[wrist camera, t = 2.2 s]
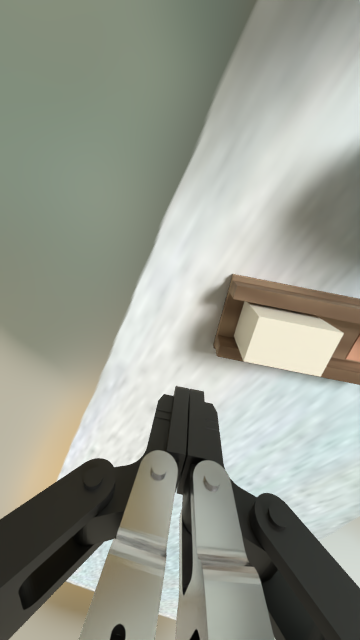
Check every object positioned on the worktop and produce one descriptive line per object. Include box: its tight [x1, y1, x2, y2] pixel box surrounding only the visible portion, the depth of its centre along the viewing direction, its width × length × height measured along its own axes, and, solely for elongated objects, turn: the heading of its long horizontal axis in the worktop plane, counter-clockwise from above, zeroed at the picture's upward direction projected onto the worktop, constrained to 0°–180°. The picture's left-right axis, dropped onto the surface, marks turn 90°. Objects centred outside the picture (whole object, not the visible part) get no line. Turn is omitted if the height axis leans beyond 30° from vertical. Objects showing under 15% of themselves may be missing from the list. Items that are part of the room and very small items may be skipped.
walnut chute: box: [213, 274, 360, 385], centre depth 25 cm, size 10×22×4 cm, turn 80°
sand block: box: [234, 301, 344, 377], centre depth 23 cm, size 5×8×6 cm, turn 80°
